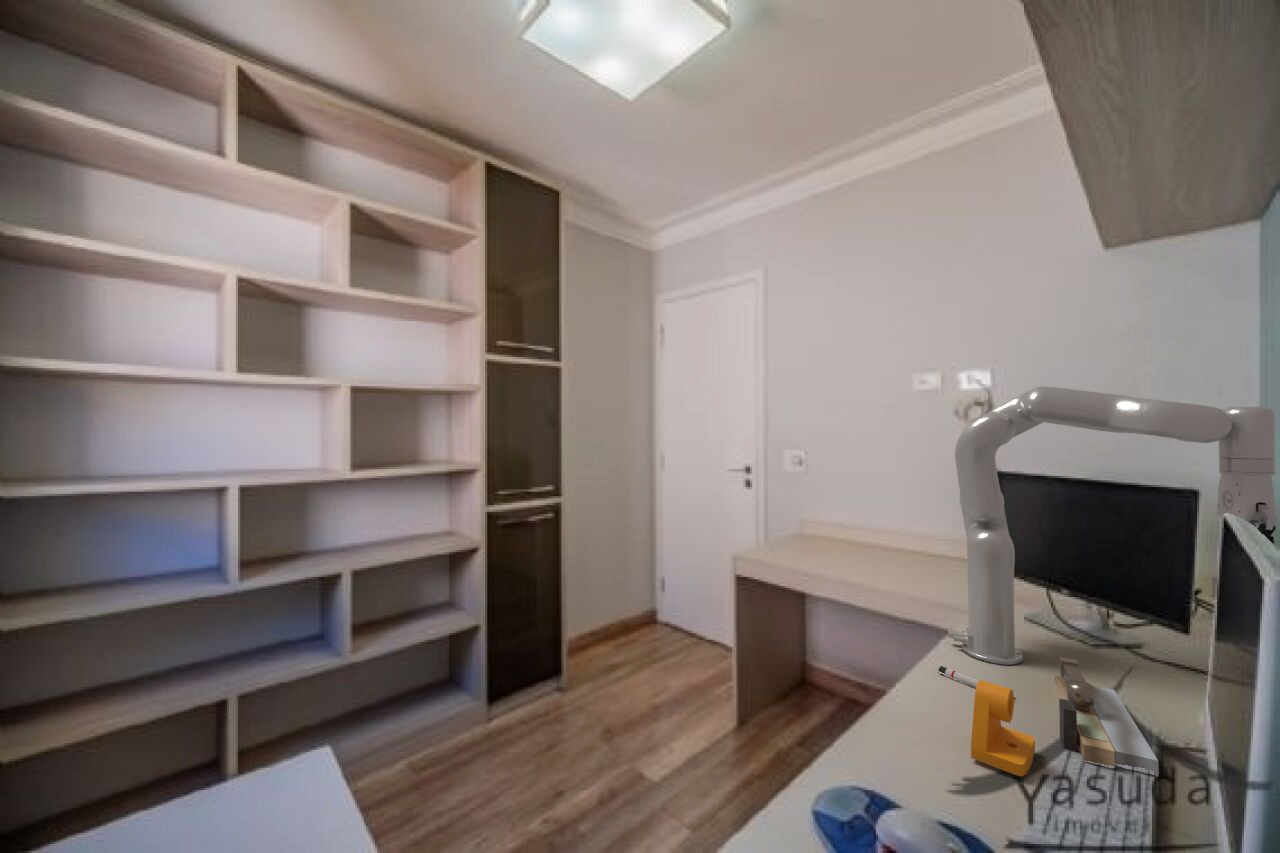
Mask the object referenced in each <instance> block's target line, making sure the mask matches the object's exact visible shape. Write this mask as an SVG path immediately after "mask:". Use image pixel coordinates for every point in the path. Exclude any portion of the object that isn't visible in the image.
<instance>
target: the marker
mask: <svg viewBox="0 0 1280 853" xmlns="http://www.w3.org/2000/svg"><path fill="white" fill-rule="evenodd" d="M938 671H940V672H942V673H944V674H946V675H948V676H950V677H952V678H954V679H957V680H958V681H961V682H963V683H965V684H967V685H966V686H968V685H969V686H968V687H970V686H971V688H973V687H974V688H973V689H975V688H976V686H977V683H978V681H979V680H980V679H978V678H974V677H972V676H969V675H966V674H963V673H961V672H958V671H956V670H953V669H950V668H948V667H945V666H943V665H939V668H938ZM938 671H937V672H938ZM958 681H957V682H958ZM963 683H962V684H963ZM965 684H964V685H965ZM1016 699H1017V698H1016V697H1014V701H1015V700H1016Z"/></svg>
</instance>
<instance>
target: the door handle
mask: <svg viewBox="0 0 1280 853" xmlns="http://www.w3.org/2000/svg"><path fill="white" fill-rule="evenodd" d="M1079 666H1080V663H1079V662H1078V659H1074V658H1073V659H1072V658H1066V657H1062V656H1059V676H1061V678H1064V680H1065V682H1066V685H1067V698H1068V699H1069V700H1070V701H1072V702H1074V703H1077V704H1080V705H1084V706H1093V705H1095V690H1094V686H1095V685H1093V684H1091V683H1089V682H1087V680H1086V678H1085V677H1084V675H1083V673H1082V671H1081V669H1080V668H1079Z"/></svg>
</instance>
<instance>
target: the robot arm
mask: <svg viewBox="0 0 1280 853" xmlns="http://www.w3.org/2000/svg"><path fill="white" fill-rule="evenodd" d="M1275 419H1276V418H1275V412H1274V410H1273V409H1272V408H1270V407H1266V406H1233V407H1225V408H1217V407H1216V406H1210V405H1203V404H1195V403H1188V402H1187V403H1186V402H1177V401H1171V400H1169V401H1168V400H1160V399H1151V398H1142V397H1137V396H1136V397H1135V396H1130V395H1123V394H1114V393H1105V392H1097V391H1088V390H1081V389H1072V388H1071V389H1070V388H1063V387H1055V386H1036V387H1034V388H1031V389H1029V390H1027V391H1025V392H1023V394H1022V393H1021V395H1019V396H1017V397H1015V398H1013V399H1012V400H1010V401H1008V402H1006V403H1004V404H1002V405H1000V406H998V407H996V408H994V409H993V410H990V411H989V412H987V413H985V414H982V415H980V416H979V417H978V418H977V419H974V420H973V421H972V422H971V423H969V424H968V425H967V426H966V427H965V428H964V430H963V431H962V432H961V433H960V435H959V437H958V440H957V441H956V444H955V449H954V451H955V452H954V459H955V461H954V462H955V467H956V473H957V482H958V488H959V503H960V506H961V513H962V519H963V524H964V529H965V534H966V543H967V545H966V547H967V548H966V549H967V550H966V551H967V553H966V554H967V595H968V597H967V601H968V602H967V603H968V604H967V605H968V607H967V609H968V610H967V613H968V615H967V616H968V628H966V630H962V631H956V630H953V629H948V630H947V638H949V639H950V638H951V639H953V641H955V642H957V643H958V642H961V649H962V648H963V650H964V651H966V652H967V653H968V654H970V655H972V656H973V657H972V656H971V657H972V658H974V657H975V658H974V659H977V658H978V659H977V660H979V659H981V660H980V661H982V660H984V661H983V662H986V661H987V663H990V662H991V663H990V664H997V665H1005V666H1006V665H1017V664H1020V663H1022V662H1023V661H1024V655H1023V653H1022V652H1021V651H1020V650H1019V649H1017V648H1016V644H1015V643H1016V641H1015V639H1016V638H1015V635H1016V634H1015V626H1016V624H1015V561H1016V560H1015V559H1016V558H1015V557H1016V555H1015V554H1016V553H1015V545H1014V542H1013V540H1012V538H1011V536H1010V533H1009V532H1010V531H1009V528H1008V522H1007V516H1006V511H1005V498H1004V495H1003V493H1002V491H1001V487H1000V483H999V482H1000V481H999V476H998V468H997V467H998V466H997V462H996V455H997V451H998V450H999V448H1001V447H1002V446H1004V445H1006V444H1008V443H1009V442H1010V441H1011V440H1012V439H1013V438H1015V437H1017V436H1020V435H1021V434H1023V433H1026V432H1027V431H1030V430H1031V429H1033V428H1035V427H1037V426H1040V424H1043V423H1046V424H1054V425H1061V426H1068V427H1073V428H1080V429H1087V430H1092V431H1094V430H1095V431H1098V432H1099V431H1100V432H1107V433H1116V434H1119V433H1120V434H1121V433H1122V434H1123V433H1125V434H1138V435H1146V436H1153V437H1154V436H1155V437H1161V438H1162V437H1163V438H1168V439H1169V438H1170V439H1175V440H1178V441H1181V442H1187V443H1198V444H1199V443H1200V444H1210V443H1215V442H1218V473H1219V474H1220V476H1219V482H1218V493H1217V507H1216V508H1217V509H1216V510H1217V512H1216V513H1217V515H1218V516H1219V517H1220V518H1221V519H1223V518H1222V517H1223V514H1225V513H1230V514H1233V515H1235V516H1237V517H1240V518H1242V519H1244V520H1246V521H1245V522H1247V521H1248V522H1249V523H1251V524H1252V525H1254V526H1255V527H1256V528H1257V529H1258V530H1259V531H1260V532H1261V533H1262V534H1264V535H1265V536H1266V537H1267V538H1268V539H1269V540H1270V541H1271V542H1272V543H1273V544H1274V543H1275V539H1274V538H1275V536H1276V533H1275V530H1277V526H1276V524H1277V520H1278V517H1277V515H1276V503H1275V502H1276V501H1275V492H1274V485H1273V484H1274V483H1273V477H1272V476H1276V427H1275V426H1276V425H1275V423H1276V422H1275V421H1276V420H1275ZM1274 545H1275V544H1274ZM963 650H962V651H963ZM964 651H963V652H964ZM968 654H967V655H968ZM970 655H969V656H970Z"/></svg>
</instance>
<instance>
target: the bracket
mask: <svg viewBox="0 0 1280 853" xmlns="http://www.w3.org/2000/svg"><path fill="white" fill-rule="evenodd" d="M978 680H979V681H978V683H977V686H976V689H975V691H974V705H973V714H972V729H971V740H970V758H971V759H973V760H976V761H979V762H981V763H984V764H986V765H989V766H992V767H994V768H997V769H999V770H1002V771H1004V772H1006V773H1010V774H1013V775H1015V776H1018V777H1024V776H1027V775H1028V773H1029V771H1030V768H1031V765H1032V764H1033V761H1034V754H1035V752H1036V739H1035V737H1033V736H1032V735H1029V734H1026V733H1023V732H1020V731H1018V730H1014V729H1011V728H1010V727H1009V728H1008V727H1005V726H1003V725H1002V721H1003V722H1004V723H1008V724H1010V723H1012V720H1013V716H1014V708H1015V707H1014V706H1015V700H1014V698H1015V694H1014V689H1012V688H1009V687H1006V686H1005V687H1004V686H1002V685H1000V684H999V685H998V684H995V683H992V682H988V681H984V680H982V679H978Z"/></svg>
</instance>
